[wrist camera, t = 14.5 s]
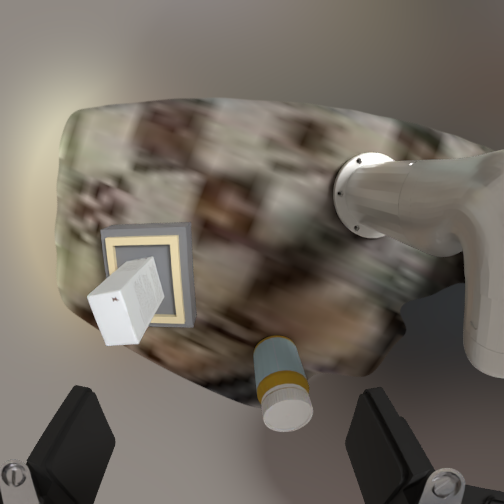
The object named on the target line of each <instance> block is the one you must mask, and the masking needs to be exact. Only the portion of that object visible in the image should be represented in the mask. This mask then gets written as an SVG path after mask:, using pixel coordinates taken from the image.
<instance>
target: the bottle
mask: <svg viewBox="0 0 504 504" xmlns="http://www.w3.org/2000/svg"><path fill="white" fill-rule="evenodd" d="M253 358H254V369H255V380H256V390H257V397H258V400H259V402H260V403H261V405H262V416H263V421H264V423H265V425H266V426H267V427H268V428H270V429H272V430H274V431H279V432H288V431H293V430H297V429H299V428H301V427H303V426H304V425H306V424H307V423H308V422H309V421H310V419H311V418H312V416H313V408H312V404H311V401H310V398H309V395H308V394H309V385H308V382H307V379H306V376H305V373H304V370H303V367H302V364H301V361H300V358H299V355H298V352H297V349H296V346H295V344H294V343H293V342H292V340H290V339H289V338H287V337H284V336H279V335H277V336H270V337H267V338H264V339H263V340H261V341H260V342H259V343H258V344H257V345H256V347H255V349H254V352H253Z"/></svg>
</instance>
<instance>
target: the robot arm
mask: <svg viewBox="0 0 504 504" xmlns="http://www.w3.org/2000/svg"><path fill="white" fill-rule="evenodd" d="M356 160H358V163H357V162H356ZM338 192H340V195H338V194H337V193H338ZM333 200H334V206H335V209H336V212H337V214H338V216H339V218H340V220H341V221H342V223H343V224H344V225H345V226H346V227H347V228H348V229H349V230H350V231H352V232H354V233H355V234H357V235H359V236H362V237H366V238H380V237H384V236H389V237H391V238H393V239H395V240H398V241H400V242H402V243H404V244H406V245H409V246H411V247H413V248H415V249H418V250H420V251H422V252H424V253H426V254H429V255H432V256H436V257H448V256H452V255H455V254H457V253H460V252H462V251H463V255H464V275H465V311H464V326H463V342H464V348H465V352H466V355H467V357H468V359H469V361H470V362H471V363H472V364H473V366H475V367H476V368H477V369H478V370H480V371H481V372H483V373H485V374H488V375H490V376H494V377H499V378H504V150H500V151H495V152H491V153H486V154H482V155H478V156H472V157H466V158H457V159H439V160H412V161H394V160H393V159H392V158H390V157H389V156H386V155H384V154H381V153H377V152H366V153H361V154H358V155H356V156H354V157H352V158H351V159H349V160H348V161H347V162H346V163H345V164H344V165H343V166H342V168H341V169H340V170H339V172H338V175H337V177H336V179H335V183H334V188H333ZM354 226H356V228H355V229H354ZM345 445H346V450H347V452H348V455H349V458H350V461H351V464H352V467H353V469H354V472H355V475H356V478H357V481H358V484H359V487H360V490H361V493H362V495H363V499H364V502H365V504H504V492H501V491H496V490H490V489H485V488H479V487H475V486H470V485H465V480H464V477H463V476H462V474H461V473H460V472H458V471H457V470H454V469H451V468H443V469H439V470H437V471H435V470H434V468H433V466H432V465H431V463H430V461H429V459H428V458H427V456H426V454H425V452H424V450H423V449H422V448H421V445H420V444H419V442H418V440H417V439H416V437H415V435H414V433H413V432H412V430H411V428H410V427H409V425H408V423H407V422H406V420H405V419H404V418H403V417H399V415H398V413H397V412H396V410H395V408H394V406H393V405H392V403H391V401H390V400H389V398H388V396H387V395H386V393H385V391H384V390H383V388H382V387H377V388H371V389H366V390H365V391H364V393H363V394H361V395H360V396H359V399H358V402H357V406H356V409H355V412H354V416H353V419H352V422H351V425H350V428H349V431H348V434H347V437H346V442H345ZM114 447H115V437H114V435H113V433H112V431H111V429H110V427H109V425H108V422H107V420H106V418H105V416H104V413H103V411H102V409H101V407H100V404H99V401H98V399H97V396H96V394H95V393H94V392H92V390H91V389H90V388H88V387H82V386H77V385H76V386H74V387H73V388H72V390H71V391H70V393H69V394H68V396H67V397H66V399H65V400H64V402H63V403H62V405H61V406H60V408H59V409H58V411H57V413H56V414H55V415H54V417H53V419H52V420H51V422H50V423H49V425H48V427H47V428H46V430H45V431H44V433H43V434H42V436H41V438H40V439H39V441H38V443H37V444H36V446H35V447H34V449H33V451H32V453H31V454H30V456H29V458H28V459H27V463H26V464H25V463H24V462H22V461H20V460H16V459H14V460H8V461H6V462H5V463H3V464H2V465H1V467H0V504H93V503H94V501H95V498H96V495H97V492H98V489H99V487H100V484H101V481H102V478H103V476H104V473H105V470H106V468H107V465H108V462H109V460H110V457H111V455H112V452H113V449H114Z"/></svg>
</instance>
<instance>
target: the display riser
mask: <svg viewBox="0 0 504 504" xmlns="http://www.w3.org/2000/svg"><path fill="white" fill-rule="evenodd" d="M101 240H102V249H103V257H104V265H105V272H106V279H107V278H108V277H109V276H110V275H111V274H112V273H113V272H115V271H116V270H117V269H118V268H119V267H120V266H122V265H123V264H124V263H125V262H126V261H131V260H136V259H141V258H146V257H152V256H153V257H154V261H155V264H156V268H157V272H158V276H159V279H160V283H161V286H162V290H163V293H164V299H163V301H162V302H161V304H160V306H159V308H158V309H157V311H156V313H155V315H154V317H153V318H152V320H151V322H150V324H149V326H154V327H193V326H194V322H195V319H196V315H197V314H196V301H195V288H194V274H193V257H192V238H191V222H179V223H149V224H125V225H111V226H109V227H106V228H104V229H102V230H101Z"/></svg>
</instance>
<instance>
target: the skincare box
mask: <svg viewBox="0 0 504 504" xmlns="http://www.w3.org/2000/svg"><path fill="white" fill-rule="evenodd" d="M87 299H88V301H89V304H90V307H91V309H92V312H93V315H94V317H95V320H96V322H97V325H98V327H99V329H100V332H101V334H102V337H103V339H104V341H105V344H106V346H114V345H130V344H139V342H140V341H141V339H142V337H143V335H144V333H145V331H146V329H147V327H148V326H149V324H150V322H151V320H152V318H153V317H154V315H155V313H156V311H157V309H158V308H159V306H160V304H161V302H162V301H163V299H164V293H163V290H162V286H161V283H160V279H159V276H158V272H157V268H156V264H155V261H154V257H153V256H152V257H146V258H141V259H136V260H131V261H126V262H125V263H124V264H123V265H122V266H120V267H119V268H118V269H117V270H116V271H115V272H113V273H112V274H111V275H110V276H109V277H108V278H107V279H105V280H104V281H103V282H102V283H101V284H100V285H99V286H97V287H96V288H95V289H94V290H93V291H92V292H91V293H90V294H89V295H88V296H87Z"/></svg>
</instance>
